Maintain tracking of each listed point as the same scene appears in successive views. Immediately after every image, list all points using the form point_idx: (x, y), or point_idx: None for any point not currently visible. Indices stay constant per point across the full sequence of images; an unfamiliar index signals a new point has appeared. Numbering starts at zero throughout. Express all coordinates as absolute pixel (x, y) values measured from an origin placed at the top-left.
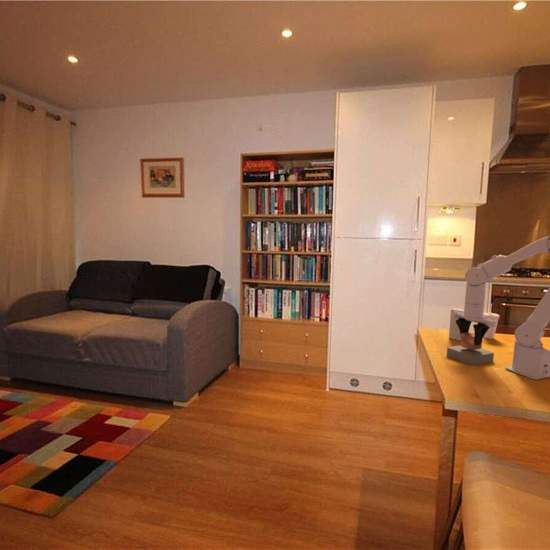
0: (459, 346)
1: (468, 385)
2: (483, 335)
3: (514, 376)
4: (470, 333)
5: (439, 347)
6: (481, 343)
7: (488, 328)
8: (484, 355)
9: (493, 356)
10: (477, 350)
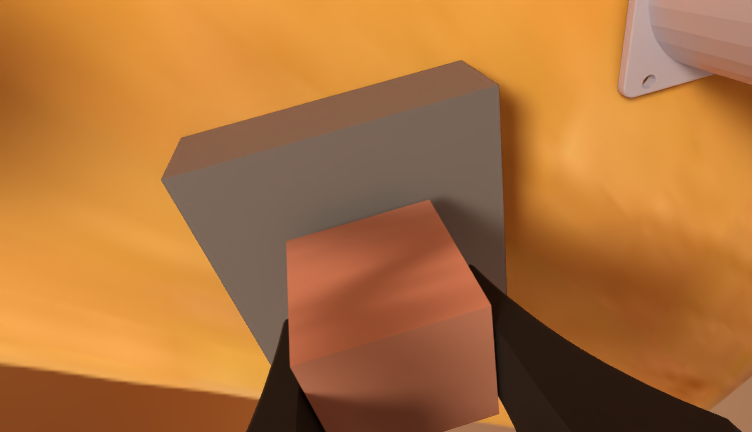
0: (259, 297)
1: (634, 376)
2: (553, 342)
3: (710, 125)
4: (364, 393)
5: (52, 301)
6: (450, 238)
7: (698, 422)
8: (499, 205)
9: (482, 75)
10: (392, 204)
